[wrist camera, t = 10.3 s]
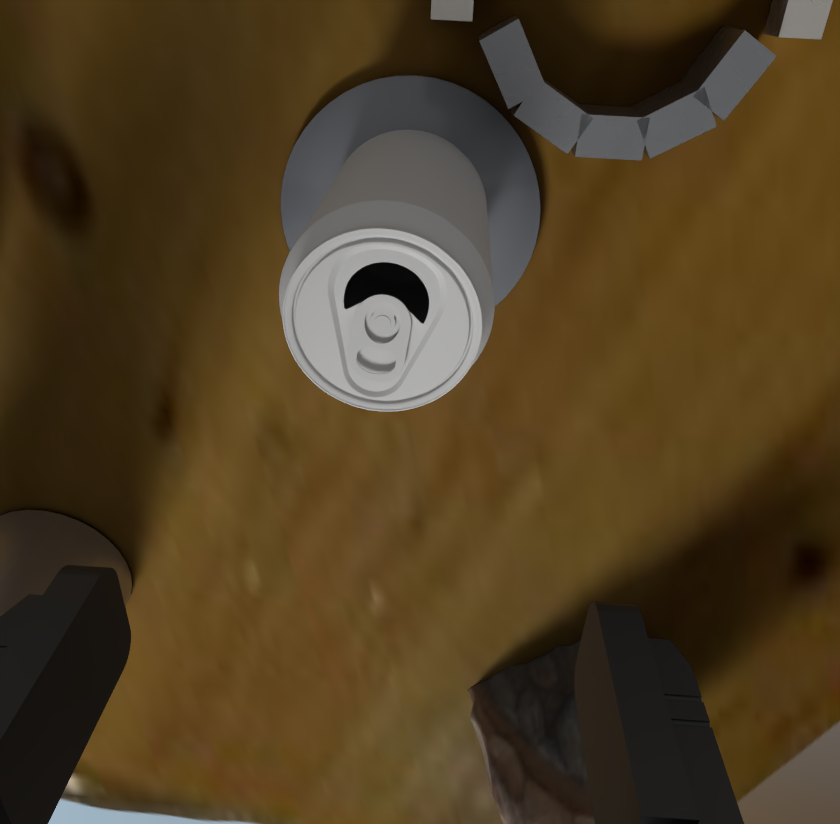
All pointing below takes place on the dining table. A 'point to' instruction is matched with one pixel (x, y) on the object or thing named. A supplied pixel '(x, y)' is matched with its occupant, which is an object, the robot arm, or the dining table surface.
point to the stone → (534, 741)
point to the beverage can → (392, 275)
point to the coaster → (437, 114)
